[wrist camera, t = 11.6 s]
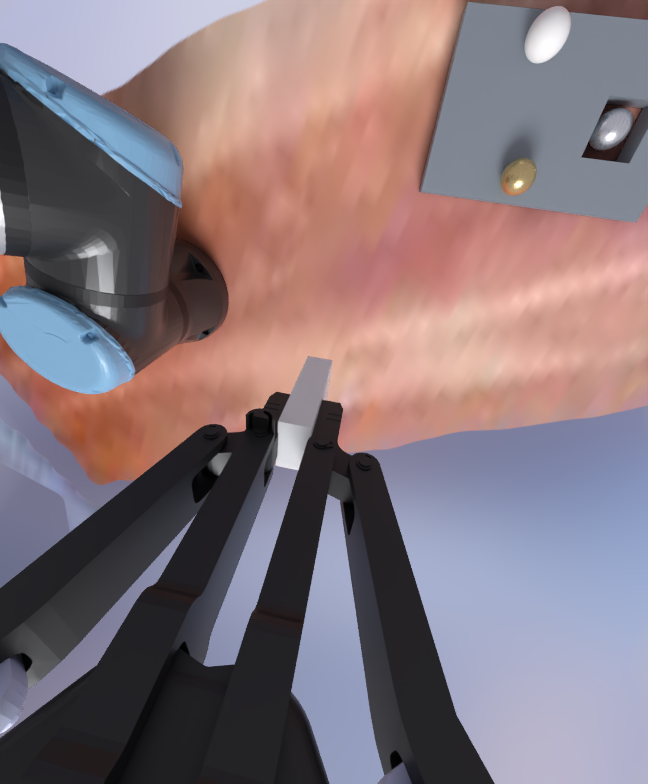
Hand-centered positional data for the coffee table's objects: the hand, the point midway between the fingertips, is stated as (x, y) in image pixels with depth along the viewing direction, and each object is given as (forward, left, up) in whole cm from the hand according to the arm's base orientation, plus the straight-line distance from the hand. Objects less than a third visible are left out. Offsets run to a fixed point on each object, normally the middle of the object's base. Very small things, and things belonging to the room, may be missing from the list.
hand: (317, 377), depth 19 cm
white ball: (+13, +23, -24) cm, 36 cm away
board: (+18, +18, -28) cm, 38 cm away
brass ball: (+15, +13, -24) cm, 31 cm away
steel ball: (+23, +18, -27) cm, 39 cm away
